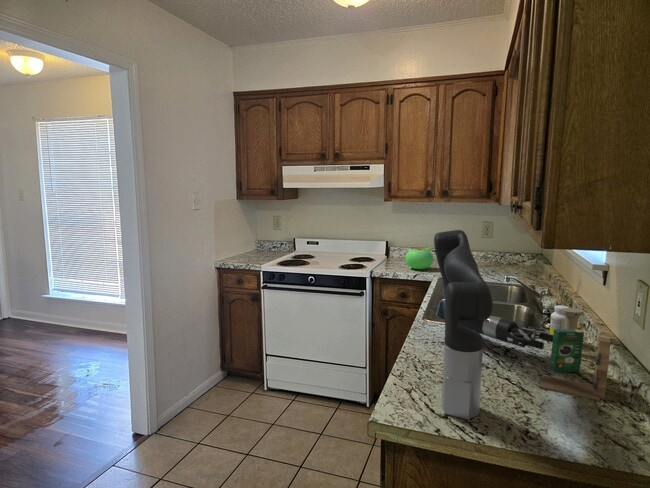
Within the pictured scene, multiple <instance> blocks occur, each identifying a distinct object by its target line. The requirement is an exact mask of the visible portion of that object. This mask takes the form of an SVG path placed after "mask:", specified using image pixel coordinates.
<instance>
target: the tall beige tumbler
mask: <svg viewBox="0 0 650 488" xmlns="http://www.w3.org/2000/svg"><path fill="white" fill-rule="evenodd" d="M584 311H585V310H583V309H581V308H576V307H569V308H562V313H563V314H564V315H566V323H565V329H578V321H579V320H578V319H579V318H580V317H582V316H584Z"/></svg>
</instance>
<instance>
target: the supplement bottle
mask: <svg viewBox="0 0 650 488" xmlns="http://www.w3.org/2000/svg"><path fill="white" fill-rule="evenodd" d="M553 308H554V312H552V313H551V314H550V324H549V325H550V326H549V334H551V335H553V334H554V329H565V323H566V315H564V314H563V313H562V308H570V307H569V306H566V305H561V304H560V305H559V304H558V305H555V306H554V307H553Z"/></svg>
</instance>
